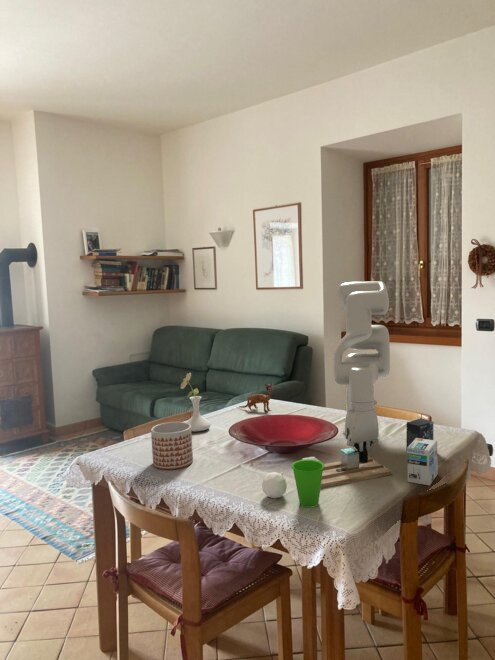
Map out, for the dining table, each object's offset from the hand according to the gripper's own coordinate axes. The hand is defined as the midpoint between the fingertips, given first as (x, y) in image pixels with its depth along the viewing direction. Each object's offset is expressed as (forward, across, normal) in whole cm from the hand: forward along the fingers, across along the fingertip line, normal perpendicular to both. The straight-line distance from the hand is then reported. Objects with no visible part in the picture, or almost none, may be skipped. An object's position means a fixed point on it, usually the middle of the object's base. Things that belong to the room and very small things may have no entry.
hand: (362, 461), depth 167 cm
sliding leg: (+1, +5, 0) cm, 5 cm away
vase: (+3, +55, -34) cm, 64 cm away
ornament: (+3, +33, +7) cm, 34 cm away
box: (+3, -27, -7) cm, 28 cm away
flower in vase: (+3, +38, -67) cm, 78 cm away
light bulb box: (+3, -13, +13) cm, 19 cm away
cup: (+3, +26, +15) cm, 30 cm away
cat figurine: (+3, +5, -85) cm, 85 cm away
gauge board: (+3, +7, 0) cm, 8 cm away
